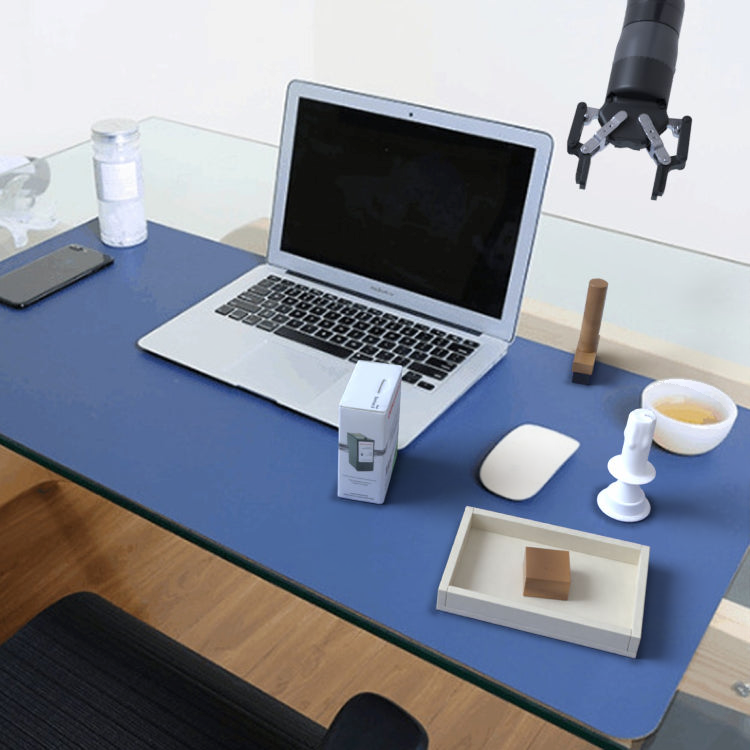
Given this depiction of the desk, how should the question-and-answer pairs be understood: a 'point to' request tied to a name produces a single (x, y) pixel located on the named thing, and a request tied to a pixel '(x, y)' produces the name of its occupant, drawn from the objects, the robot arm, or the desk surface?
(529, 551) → the brown block
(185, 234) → the desk surface
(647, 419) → the candle
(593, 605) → the tray
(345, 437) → the ink box
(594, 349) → the brush
